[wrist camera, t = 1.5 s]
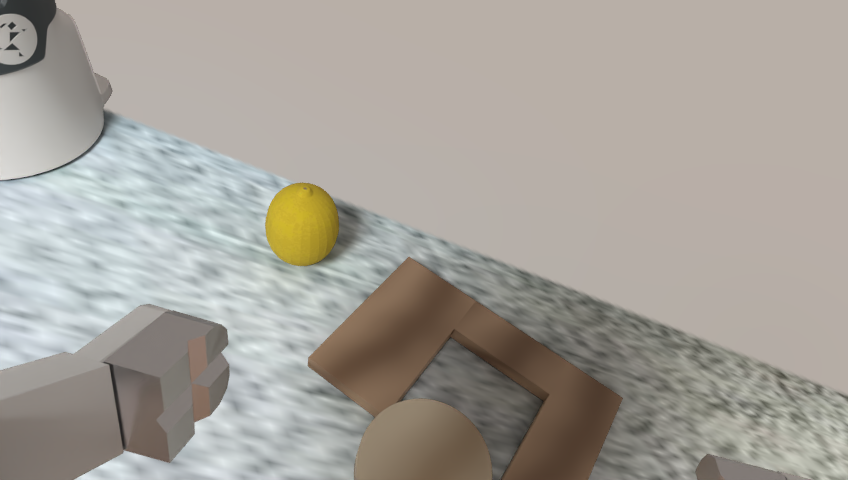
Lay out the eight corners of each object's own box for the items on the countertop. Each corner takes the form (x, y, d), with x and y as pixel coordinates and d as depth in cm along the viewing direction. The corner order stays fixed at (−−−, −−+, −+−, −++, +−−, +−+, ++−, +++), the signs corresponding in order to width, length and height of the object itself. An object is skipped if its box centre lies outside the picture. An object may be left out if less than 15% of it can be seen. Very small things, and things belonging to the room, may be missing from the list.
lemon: (347, 258, 47) (358, 190, 41) (301, 297, 43) (307, 228, 37) (299, 223, 48) (303, 152, 42) (250, 258, 45) (248, 187, 39)
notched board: (307, 365, 39) (308, 357, 39) (406, 265, 47) (408, 256, 47) (551, 551, 34) (558, 546, 34) (615, 404, 42) (622, 398, 42)
